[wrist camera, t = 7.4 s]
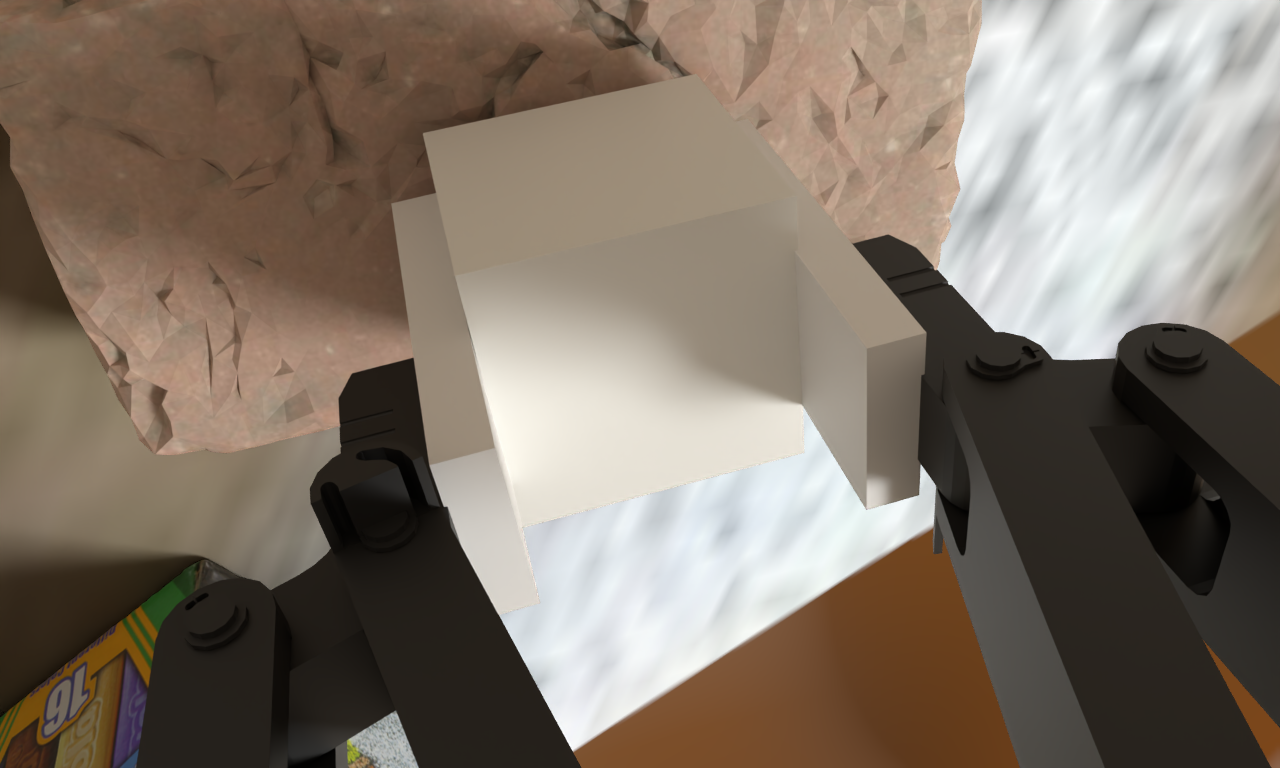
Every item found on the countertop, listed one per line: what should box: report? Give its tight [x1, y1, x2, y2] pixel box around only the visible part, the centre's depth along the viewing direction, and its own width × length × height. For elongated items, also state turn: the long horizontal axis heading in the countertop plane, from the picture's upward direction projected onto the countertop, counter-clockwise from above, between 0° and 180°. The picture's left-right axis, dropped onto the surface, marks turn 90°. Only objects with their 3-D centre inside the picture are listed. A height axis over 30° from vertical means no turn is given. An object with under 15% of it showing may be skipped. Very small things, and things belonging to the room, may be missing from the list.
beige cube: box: [423, 74, 804, 528], centre depth 17 cm, size 4×4×4 cm
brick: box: [0, 0, 982, 455], centre depth 20 cm, size 17×8×5 cm, turn 93°
